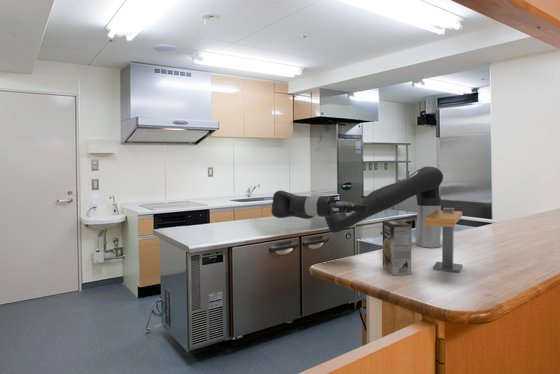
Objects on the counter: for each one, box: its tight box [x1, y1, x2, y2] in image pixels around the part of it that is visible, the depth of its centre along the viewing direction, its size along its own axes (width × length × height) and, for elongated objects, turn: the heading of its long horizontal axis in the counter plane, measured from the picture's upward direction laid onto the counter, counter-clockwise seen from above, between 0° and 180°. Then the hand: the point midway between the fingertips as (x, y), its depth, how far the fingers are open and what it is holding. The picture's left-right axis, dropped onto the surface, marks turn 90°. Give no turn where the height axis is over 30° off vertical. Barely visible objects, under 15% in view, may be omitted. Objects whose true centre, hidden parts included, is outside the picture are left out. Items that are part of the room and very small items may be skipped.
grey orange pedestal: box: [425, 207, 463, 274], centre depth 119 cm, size 8×22×20 cm, turn 148°
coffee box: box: [382, 219, 413, 276], centre depth 123 cm, size 9×6×16 cm
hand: (366, 208), depth 127 cm, fingers closed
